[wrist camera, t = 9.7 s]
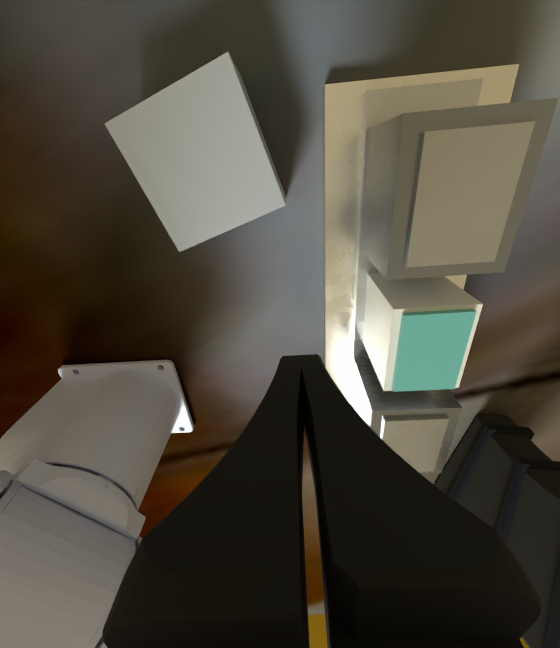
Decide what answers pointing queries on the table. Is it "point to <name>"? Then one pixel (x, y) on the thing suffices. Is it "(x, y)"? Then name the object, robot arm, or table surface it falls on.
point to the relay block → (200, 154)
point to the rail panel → (418, 217)
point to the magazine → (514, 506)
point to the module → (418, 331)
